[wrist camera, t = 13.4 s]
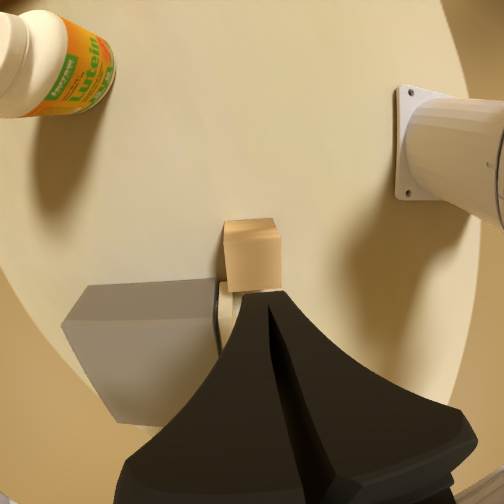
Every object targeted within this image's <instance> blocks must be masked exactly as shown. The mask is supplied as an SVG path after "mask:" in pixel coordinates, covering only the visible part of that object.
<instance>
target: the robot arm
mask: <svg viewBox="0 0 504 504" xmlns="http://www.w3.org/2000/svg"><path fill="white" fill-rule="evenodd" d="M408 90H410V91H411V96H410V95H409V94H408ZM396 96H397V159H396V178H395V197H396V198H397V199H399V200H445V201H447V202H449V203H451V204H453V205H455V206H457V207H459V208H461V209H463V210H465V211H467V212H468V213H470V214H472V215H474V216H476V217H478V218H479V219H481V220H483V221H485V222H487V223H488V224H490V225H492V226H493V227H495V228H497V229H498V230H500V231H502V232H503V233H504V101H495V100H483V99H466V98H458V97H455V96H451V95H447V94H444V93H440V92H436V91H432V90H427V89H423V88H419V87H414V86H409V85H399V86H398V87H397V89H396ZM407 190H409V193H408V195H407V196H406V191H407ZM477 444H478V439H477V437H476V435H475V433H474V431H473V429H472V427H471V426H470V424H469V422H468V421H467V419H466V417H465V416H464V415H463V413H462V411H461V410H459V409H456V408H453V407H450V406H447V405H444V404H441V403H438V402H435V401H432V400H429V399H426V398H424V397H421V396H419V395H417V394H414V393H412V392H410V391H408V390H405V389H403V388H401V387H399V386H397V385H395V384H393V383H391V382H389V381H388V380H386V379H384V378H382V377H381V376H379V375H377V374H376V373H374V372H372V371H370V370H369V369H367V368H366V367H364V366H363V365H361V364H360V363H358V362H357V361H355V360H354V359H353V358H351V357H350V356H349V355H347V354H346V353H345V352H344V351H342V350H341V349H340V348H339V347H337V346H336V345H335V344H334V343H333V342H332V341H331V340H329V339H328V338H327V337H326V336H325V335H324V334H323V333H322V332H321V331H320V330H319V329H318V328H317V327H316V326H315V325H314V324H313V323H312V322H311V321H310V320H309V319H308V318H307V317H306V316H305V315H304V314H303V313H302V311H301V310H300V309H299V308H298V307H297V306H296V305H295V303H294V302H293V301H292V300H291V298H290V297H289V296H288V295H287V293H286V292H284V291H274V292H262V293H250V294H245V295H244V296H243V297H242V303H241V308H240V311H239V314H238V317H237V320H236V323H235V325H234V327H233V330H232V332H231V335H230V337H229V339H228V341H227V343H226V345H225V347H224V349H223V351H222V353H221V355H220V356H219V358H218V360H217V362H216V363H215V365H214V366H213V368H212V370H211V371H210V373H209V374H208V376H207V377H206V379H205V380H204V382H203V383H202V384H201V386H200V387H199V388H198V390H197V391H196V392H195V393H194V395H193V396H192V397H191V399H190V400H189V401H188V402H187V403H186V405H185V406H184V407H183V408H182V409H181V410H180V411H179V412H178V413H177V414H176V415H175V416H174V417H173V419H172V420H171V421H170V422H169V423H168V424H167V425H166V426H165V427H164V428H163V429H162V430H161V431H160V432H159V433H158V434H156V435H155V436H154V437H153V438H152V439H151V440H150V441H149V442H147V443H146V444H145V445H144V446H142V447H141V448H140V449H139V450H138V451H136V452H135V453H134V454H133V455H131V456H130V457H129V458H128V459H127V460H125V463H124V465H123V468H122V471H121V473H120V477H119V479H118V482H117V485H116V490H115V496H114V502H113V504H504V464H503V465H502V466H500V467H499V468H497V469H496V470H495V471H493V472H492V473H490V474H489V475H487V476H486V477H485V478H483V479H481V480H480V481H478V482H477V483H475V484H473V485H472V486H470V487H468V488H467V489H465V490H463V491H462V492H460V493H458V494H457V495H455V496H453V494H452V492H451V489H450V486H452V485H453V484H454V479H453V477H452V475H451V472H452V471H453V470H454V469H455V468H456V467H457V466H459V465H460V464H461V463H462V462H463V461H464V460H465V459H466V458H467V457H468V456H469V455H470V454H471V453H472V452H473V451H474V449H475V448H476V446H477ZM0 504H19V503H17V502H15V501H13V500H11V499H9V497H8V496H6V495H5V494H3V493H2V492H0Z"/></svg>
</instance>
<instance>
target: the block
mask: <svg viewBox="0 0 504 504" xmlns="http://www.w3.org/2000/svg"><path fill="white" fill-rule="evenodd" d="M223 245H224V254H225V264H226V273H227V282H228V291H229V292H239V291H252V290H264V289H275V288H281V238H280V236H279V233H278V231H277V228H276V226H275V224H274V221H273V219H272V218H265V219H251V220H238V221H225V224H224V241H223Z"/></svg>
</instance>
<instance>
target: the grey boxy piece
mask: <svg viewBox="0 0 504 504" xmlns="http://www.w3.org/2000/svg"><path fill="white" fill-rule="evenodd" d="M216 301H219V299H218V292H217V285H216V278H209V279H195V280H180V281H165V282H148V283H131V284H112V285H91V286H88V287H87V288H86V289H85V291H84V292H83V294H82V295H81V296H80V298H79V299H78V301H77V302H76V304H75V305H74V306H73V308H72V309H71V311H70V312H69V314H68V315H67V317H66V318H65V320H64V321H63V323H62V324H61V327H62V329H63V332H64V334H65V336H66V338H67V340H68V342H69V344H70V346H71V348H72V350H73V352H74V353H75V355H76V357H77V359H78V361H79V363H80V365H81V366H82V368H83V370H84V372H85V373H86V375H87V377H88V378H89V380H90V382H91V384H92V385H93V387H94V388H95V390H96V392H97V393H98V395H99V396H100V398H101V400H102V401H103V403H104V404H105V406H106V407H107V409H108V410H109V412H110V413H111V415H112V416H113V417H114V419H115V420H116V422H117V423H123V424H133V425H145V426H160V427H165V426H166V425H167V424H168V423H169V422H170V421H171V420H172V419H173V417H174V416H175V415H176V414H177V413H178V412H179V411H180V410H181V409H182V408H183V407H184V406H185V405H186V403H187V402H188V401H189V400H190V399H191V397H192V396H193V395H194V393H195V392H196V391H197V390H198V388H199V387H200V386H201V384H202V383H203V382H204V380H205V379H206V377H207V376H208V374H209V373H210V371H211V370H212V368H213V366H214V365H215V363H216V362H217V360H218V358H219V351H218V346H217V340H216V334H215V328H214V326H215V310H216Z"/></svg>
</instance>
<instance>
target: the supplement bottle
mask: <svg viewBox="0 0 504 504" xmlns="http://www.w3.org/2000/svg"><path fill="white" fill-rule="evenodd" d="M115 72H116V58H115V54H114V51H113V49H112V47H111V46H110V45H109V44H108V43H107V42H106V41H105V40H103V39H102V38H100V37H98V36H96V35H95V34H93V33H91V32H89V31H87V30H85V29H83V28H82V27H80V26H78V25H76V24H74V23H72V22H70V21H68V20H66V19H64V18H62V17H60V16H58V15H56V14H54V13H51V12H49V11H45V10H33V11H29V12H26V13H23V14H21V15H19V16H16V15H12V14H8V13H4V12H0V118H23V117H34V116H45V115H67V114H77V113H81V112H84V111H86V110H88V109H90V108H92V107H93V106H95V105H96V104H97V103H98V102H99V101H100V100H101V99H102V98H103V97H104V96H105V94H106V93H107V92H108V90H109V88H110V86H111V84H112V82H113V79H114V76H115Z"/></svg>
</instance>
